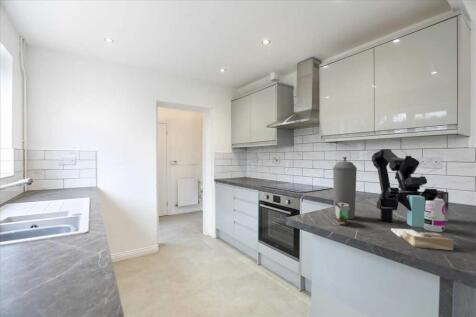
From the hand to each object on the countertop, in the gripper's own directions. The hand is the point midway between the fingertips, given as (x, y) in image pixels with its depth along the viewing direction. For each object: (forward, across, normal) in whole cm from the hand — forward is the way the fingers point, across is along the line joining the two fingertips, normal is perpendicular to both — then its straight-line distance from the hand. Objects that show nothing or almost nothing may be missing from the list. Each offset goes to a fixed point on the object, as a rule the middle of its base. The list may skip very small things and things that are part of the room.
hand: (417, 210), depth 96 cm
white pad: (+3, 0, +16) cm, 16 cm away
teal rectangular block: (+4, 0, +6) cm, 7 cm away
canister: (-14, -21, +34) cm, 42 cm away
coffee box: (-18, +27, +37) cm, 49 cm away
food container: (-5, -24, +25) cm, 35 cm away
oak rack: (+10, +3, +8) cm, 13 cm away
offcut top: (+9, +6, +7) cm, 13 cm away
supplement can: (-4, +16, +24) cm, 29 cm away
